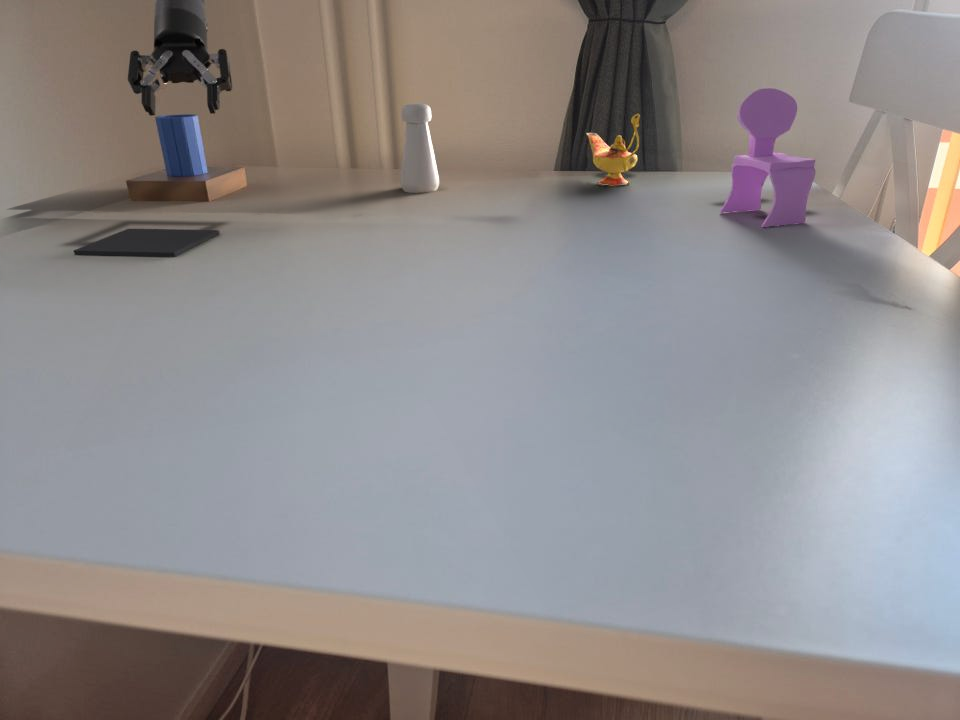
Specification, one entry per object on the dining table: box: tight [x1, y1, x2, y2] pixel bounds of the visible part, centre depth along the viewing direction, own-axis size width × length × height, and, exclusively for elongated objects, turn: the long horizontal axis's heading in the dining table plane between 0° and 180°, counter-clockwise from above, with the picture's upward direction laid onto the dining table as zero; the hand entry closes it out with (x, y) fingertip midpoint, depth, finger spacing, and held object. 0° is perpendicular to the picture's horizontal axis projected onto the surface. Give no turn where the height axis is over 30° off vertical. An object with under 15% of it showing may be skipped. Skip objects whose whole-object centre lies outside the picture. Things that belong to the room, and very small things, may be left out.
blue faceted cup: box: [154, 113, 208, 177], centre depth 98 cm, size 6×6×8 cm
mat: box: [73, 228, 220, 258], centre depth 79 cm, size 12×10×1 cm
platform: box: [125, 166, 248, 203], centre depth 101 cm, size 12×12×4 cm
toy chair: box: [719, 87, 816, 228], centre depth 81 cm, size 8×9×15 cm
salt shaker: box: [399, 103, 440, 194], centre depth 98 cm, size 6×6×13 cm
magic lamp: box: [585, 112, 641, 185], centre depth 107 cm, size 7×18×11 cm, turn 15°
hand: (181, 110), depth 100 cm, fingers open, 8 cm apart
